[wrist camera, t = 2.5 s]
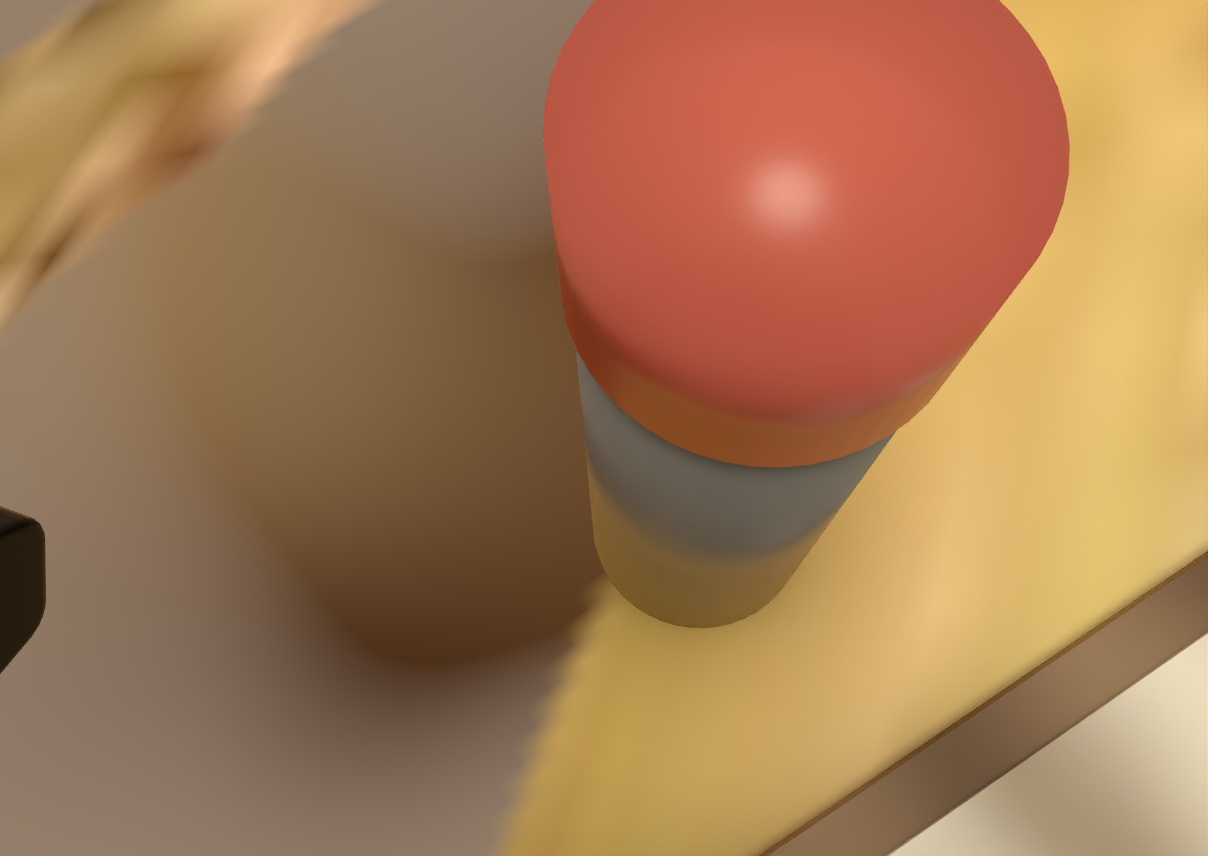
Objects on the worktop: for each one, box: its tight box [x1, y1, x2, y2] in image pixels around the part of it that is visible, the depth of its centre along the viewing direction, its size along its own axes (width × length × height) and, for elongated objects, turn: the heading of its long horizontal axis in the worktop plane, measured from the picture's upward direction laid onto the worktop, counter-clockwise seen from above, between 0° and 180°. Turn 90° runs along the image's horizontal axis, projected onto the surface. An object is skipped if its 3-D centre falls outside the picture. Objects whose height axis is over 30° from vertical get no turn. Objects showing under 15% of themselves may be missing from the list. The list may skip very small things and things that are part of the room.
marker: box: [543, 0, 1069, 628], centre depth 14 cm, size 4×4×12 cm
